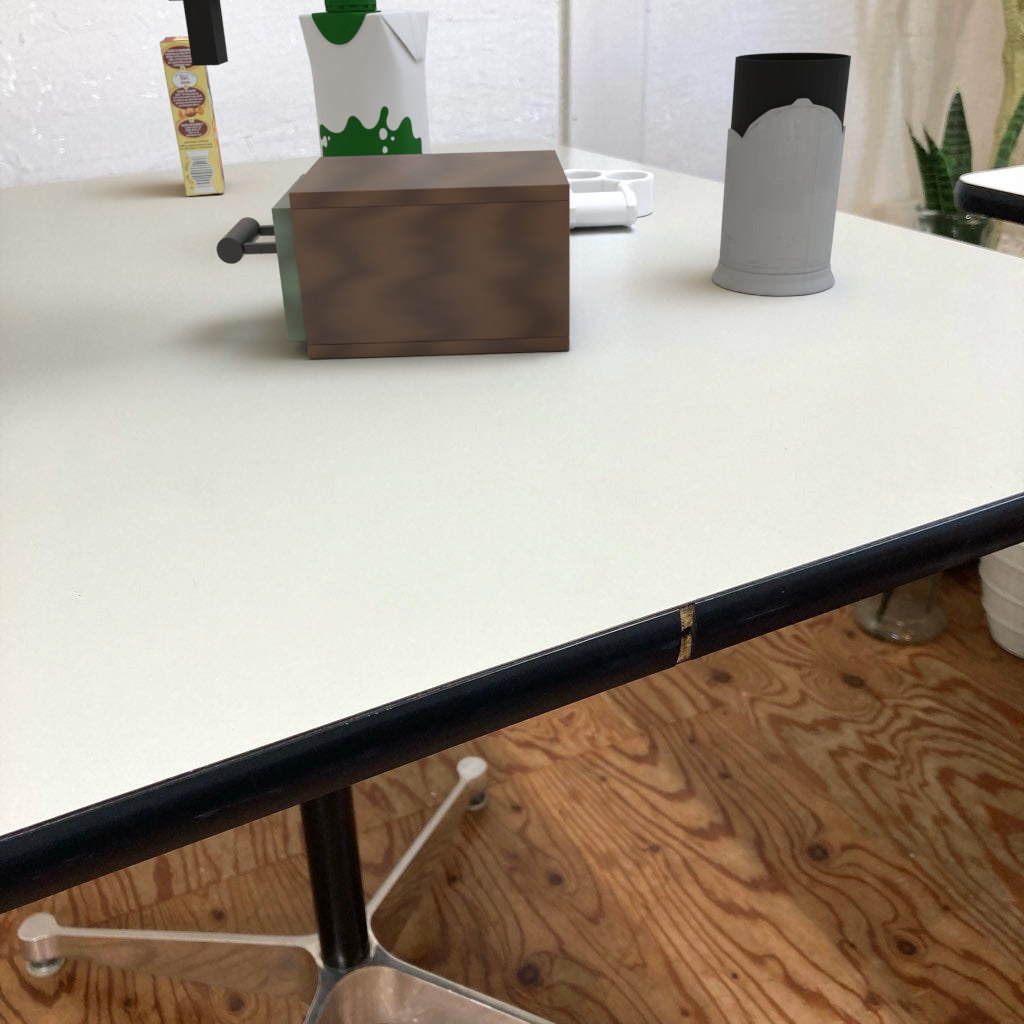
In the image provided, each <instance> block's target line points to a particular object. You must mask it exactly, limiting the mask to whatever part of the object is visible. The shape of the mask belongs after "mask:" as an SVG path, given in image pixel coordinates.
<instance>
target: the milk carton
mask: <svg viewBox="0 0 1024 1024" xmlns="http://www.w3.org/2000/svg"><path fill="white" fill-rule="evenodd" d="M323 2H324V8H325V11H322V12H312V13H311V12H310V13H302V14H299V15H298V20H299V23H300V27H301V32H302V36H303V40H304V44H305V48H306V52H307V55H308V60H309V65H310V68H311V75H312V85H313V95H314V103H315V112H316V113H315V114H316V122H317V132H318V141H319V149H320V157H339V156H372V155H406V154H431V147H430V146H431V145H430V129H429V128H430V127H429V112H428V111H429V110H428V95H427V77H426V57H427V56H426V53H427V42H428V27H429V17H430V16H429V14H430V10H424V9H423V10H415V9H402V8H378V6H377V3H378V2H377V0H323Z"/></svg>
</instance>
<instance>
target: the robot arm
mask: <svg viewBox="0 0 1024 1024" xmlns="http://www.w3.org/2000/svg"><path fill="white" fill-rule="evenodd" d="M168 1H169V2H176V1H178V2H179V1H182V4H183V12H184V19H185V26H186V32H187V36H188V39H189V46H190V53H191V59H192V66H205V65H207V66H220V65H223V64H225V63H228V62H229V57H228V50H227V43H226V41H227V40H226V35H225V27H224V20H223V13H222V5H221V0H168Z"/></svg>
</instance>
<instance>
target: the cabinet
mask: <svg viewBox="0 0 1024 1024" xmlns="http://www.w3.org/2000/svg"><path fill="white" fill-rule="evenodd" d="M564 170H565V169H564V168H563V166H562V163H561V161H560V158H559V156H558V154H557V151H556V150H555V149H545V150H544V149H542V150H539V149H538V150H512V151H511V150H510V151H478V152H477V151H473V152H445V153H441V152H440V153H430V154H406V155H372V156H339V157H321V156H319V157H318V159H317V160H316V161H315V162H314V163H313V165H312V166H311V167H310V168H309V169H308V170H307V171H306V173H304V174H305V175H304V176H303V177H302V178H301V179H300V181H299V182H298V183H297V184H296V185H295V186H294V187H293V189H292V190H291V191H290V192H289V200H290V208H291V217H292V225H293V234H294V242H295V250H296V259H297V267H298V275H299V284H300V292H301V300H302V308H303V317H304V325H305V333H306V341H305V342H306V347H307V356H308V359H309V360H322V359H324V360H325V359H352V358H353V359H356V358H383V357H385V358H386V357H414V356H415V357H417V356H446V355H474V354H475V355H476V354H477V355H478V354H479V355H480V354H504V353H506V354H509V353H511V354H512V353H535V352H536V353H537V352H569V351H570V349H571V348H570V347H571V346H570V344H571V343H570V341H571V340H570V338H571V337H570V335H571V334H570V331H571V329H570V325H571V323H570V321H571V320H570V319H571V318H570V317H571V316H570V315H571V314H570V312H571V311H570V310H571V309H570V307H571V303H570V302H571V301H570V300H571V299H570V298H571V296H570V294H571V290H570V289H571V287H570V285H571V284H570V283H571V278H570V277H571V276H570V274H571V272H570V270H571V269H570V267H571V266H570V265H571V263H570V262H571V260H570V257H571V247H570V246H571V245H570V243H571V237H570V236H571V234H570V233H571V230H570V201H569V200H570V184H569V182H568V180H567V177H566V175H565V172H564Z"/></svg>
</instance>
